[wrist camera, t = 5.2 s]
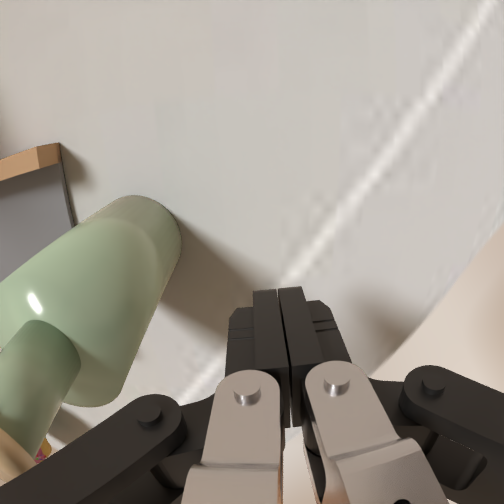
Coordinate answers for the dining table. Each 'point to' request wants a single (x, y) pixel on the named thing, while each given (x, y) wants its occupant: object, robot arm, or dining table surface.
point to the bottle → (79, 319)
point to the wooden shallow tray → (31, 205)
